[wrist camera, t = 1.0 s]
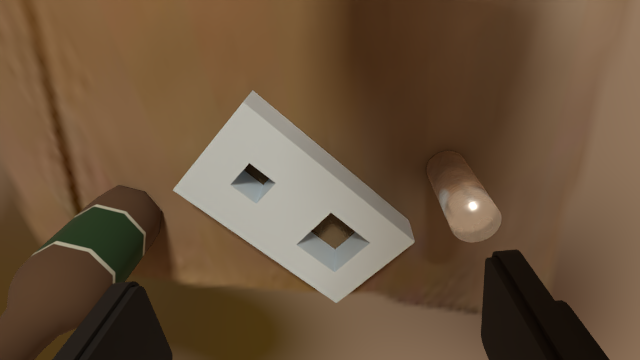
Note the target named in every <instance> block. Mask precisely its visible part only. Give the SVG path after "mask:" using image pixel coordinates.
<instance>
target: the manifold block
mask: <svg viewBox="0 0 640 360" xmlns="http://www.w3.org/2000/svg"><path fill="white" fill-rule="evenodd" d="M249 163H250V164H251V165H253V166H254V167H255V168H257V169H258V170H259V171H260V172H262V173H263V174H264V175H266V176H267V177H268V178H269V179H268V180H267V181H266V183H265V184H264V185H263V184H262V183H260V182H259V181H258V180H256V179H255V178H254V177H252V176H251V175H250V174H248V173H247V172H246V171H244V169H245V167H246V166H247V165H248V164H249ZM173 191H175V192H176V193H178V194H179V195H181V196H182V197H184V198H185V199H186V200H188V201H189V202H191V203H192V204H194V205H195V206H197V207H198V208H200V209H201V210H202V211H204V212H205V213H207V214H208V215H210V216H211V217H213V218H214V219H215V220H217V221H218V222H220V223H221V224H223V225H224V226H226V227H227V228H228V229H230V230H231V231H233V232H234V233H236V234H237V235H239V236H240V237H241V238H243V239H244V240H246V241H247V242H249V243H250V244H252V245H253V246H254V247H256V248H257V249H259V250H260V251H262V252H263V253H265V254H266V255H267V256H269V257H270V258H272V259H273V260H275V261H276V262H278V263H279V264H280V265H282V266H283V267H285V268H286V269H288V270H289V271H291V272H292V273H293V274H295V275H296V276H298V277H299V278H301V279H302V280H304V281H305V282H306V283H308V284H309V285H311V286H312V287H314V288H315V289H317V290H318V291H319V292H321V293H322V294H324V295H325V296H327V297H328V298H330V299H331V300H333V301H334V302H335V303H338V302H339V301H340V300H341V299H343V298H344V297H345V296H346V295H348V294H349V293H350V292H352V291H353V290H354V289H355V288H357V287H358V286H359V285H361V284H362V283H363V282H364V281H366V280H367V279H368V278H370V277H371V276H372V275H373V274H375V273H376V272H377V271H378V270H380V269H381V268H382V267H384V266H385V265H386V264H387V263H389V262H390V261H391V260H393V259H394V258H395V257H396V256H398V255H399V254H400V253H402V252H403V251H404V250H405V249H407V248H408V247H409V246H411V245H412V244H413V243H414V242H415V240H414V237H413V233H412V230H411V226H410V222H409V220H408V219H407V218H406V217H404V216H403V215H402V214H401V213H400V212H398V211H397V210H396V209H395V208H393V207H392V206H391V205H390V204H389V203H387V202H386V201H385V200H384V199H383V198H381V197H380V196H379V195H378V194H377V193H375V192H374V191H373V190H372V189H371V188H369V187H368V186H367V185H366V184H365V183H363V182H362V181H361V180H360V179H359V178H357V177H356V176H355V175H354V174H353V173H351V172H350V171H349V170H348V169H347V168H345V167H344V166H343V165H342V164H341V163H339V162H338V161H337V160H336V159H335V158H333V157H332V156H331V155H330V154H329V153H327V152H326V151H325V150H324V149H323V148H321V147H320V146H319V145H318V144H317V143H315V142H314V141H313V140H312V139H311V138H309V137H308V136H307V135H306V134H305V133H303V132H302V131H301V130H300V129H299V128H297V127H296V126H295V125H294V124H293V123H291V122H290V121H289V120H288V119H287V118H285V117H284V116H283V115H282V114H280V113H279V112H278V111H277V110H276V109H274V108H273V107H272V106H271V105H270V104H268V103H267V102H266V101H265V100H264V99H262V98H261V97H260V96H259V95H258V94H256V93H255V92H254V91H253V90H252V92H251V93H250V94H249V95H248V97H247V98H246V99H245V100H244V102H243V103H242V104H241V105H240V107H239V108H238V109H237V110H236V112H235V113H234V114H233V115H232V117H231V118H230V119H229V120H228V122H227V123H226V124H225V125H224V127H223V128H222V129H221V130H220V132H219V133H218V134H217V135H216V137H215V138H214V139H213V140H212V142H211V143H210V144H209V145H208V147H207V148H206V149H205V150H204V152H203V153H202V154H201V155H200V157H199V158H198V159H197V160H196V162H195V163H194V164H193V165H192V167H191V168H190V169H189V170H188V172H187V173H186V174H185V175H184V177H183V178H182V179H181V180H180V182H179V183H178V184H177V185H176V187H175V188H174V189H173ZM330 213H332V214H333V215H335V216H336V217H337V218H339V219H340V220H341V221H343V222H344V223H345V224H346V225H348V226H349V227H350V228H352V229H353V230H354V231H355V233H354V234H353V235H351V236H350V237H349V238H348V239H347V240H346V241H345V242H343V243H342V244H341V245H340V246H339V247H338V248H336V249H334V248H332V247H331V246H330V245H328V244H327V243H326V242H324V241H323V240H322V239H320V238H319V237H318V236H316V235H315V234H313V233H312V232H311V231H312V230H313V229H314V228H315V227H316V226H317V225H318V224H319V223H320V222H321V221H322V220H323V219H325V218H326V217H327V216H328V215H329V214H330Z"/></svg>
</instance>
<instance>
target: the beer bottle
mask: <svg viewBox="0 0 640 360" xmlns="http://www.w3.org/2000/svg"><path fill="white" fill-rule="evenodd" d="M160 219H161V209H160V208H159V207H158V206H157V205H156V204H155V203H154V201H153V200H152V199H151V198H150V197H149V196H148V195H147V193H146V192H145V191H140V190H136V189H132V188H128V187H124V186H116V187H115V188H113V189H111V190H109V191H108V192H106V193H104V194H103V195H101V196H99V197H98V198H96V199H95V200H94V201H93V202H91V203H90V204H89V205H88V206H87V207H85V208H84V209H83V210H82V211H81V212H80V213H79V214H78V215H76V216H75V217H74V218H73V219H72V220H71V221H70V222H69V223H68V224H66V225H65V226H64V227H63V228H62V229H61V230H60V231H59V232H57V233H56V234H55V235H54V236H53V237H52V238H51V239H50V240H49V241H47V242H46V243H45V244H44V245H43V246H42V247H41V248H40V249H39V250H37V251H36V252H35V253H34V254H33V255H32V256H31V257H30V258H29V259H28V260H27V261H26V262H25V263H24V264H23V265H22V266H21V267H20V268H19V269H18V270H17V272H16V274H15V276H14V278H13V280H12V282H11V285H10V287H9V293H8V302H7V309H6V310H5V312H4V313H3V314H2V316H1V317H0V360H34V359H35V358H36V357H37V356H38V355H39V354H40V353H41V352H42V350H43V349H44V348H45V347H47V346H48V345H49V344H50V343H51V342H52V341H53V340H54V339H55V338H56V337H57V336H59V335H61V334H64V333H66V332H68V331H71V330H73V329H75V328H77V327H78V326H79V325H80V324H81V322H82V321H83V320H84V319H85V317H86V316H87V315H88V313H89V312H90V311H91V310H92V308H93V307H94V306H95V305H96V303H97V302H98V301H99V299H100V298H101V297H102V296H103V294H104V293H105V292H106V291H107V289H108V288H109V287H110V286H111V285H112V284H114V283H121V282H125V281H126V279H127V278H128V277H129V275H130V274H131V272H132V271H133V270H134V268H135V267H136V265H137V264H138V263H139V261H140V260H141V258H142V257H143V256H144V254H145V253H146V251H147V250H148V249H149V247H150V246H151V244H152V243H153V242H154V240H155V238H156V237H157V235H158V233H159V232H160Z"/></svg>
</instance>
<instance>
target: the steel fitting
mask: <svg viewBox="0 0 640 360" xmlns="http://www.w3.org/2000/svg"><path fill="white" fill-rule="evenodd" d="M426 172H427V176H428V178H429V180H430V183H431V185H432V187H433V189H434V192H435V194H436V196H437V198H438V201H439V203H440V205H441V208H442V210H443V212H444V214H445V217H446V219H447V221H448V223H449V226H450V228H451V230H452V232H453V234H454V235H455V236H456V237H457V238H458V239H460V240H462V241H465V242H480V241H483V240H486V239H488V238H489V237H491V236H492V235H494V234H495V233H496V232H497V230H498V229H499V227H500V225H501V221H502V216H501V213H500V211H499V209H498V208H497V206H496V205H495V203H494V202H493V201H492V199H491V198H490V196H489V195H488V193H487V192H486V190H485V189H484V187H483V186H482V184H481V183H480V182H479V180H478V179H477V177H476V176H475V174H474V173H473V171H472V170H471V168H470V167H469V165H468V164H467V162H466V161H465V160H464V158H463V157H462V156H461V155H460V154H459V153H457V152H455V151H442V152H439V153H437V154H436V155H434V156H433V157H432V158H431V159H430V160H429V162H428V164H427V168H426Z"/></svg>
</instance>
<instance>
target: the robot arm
mask: <svg viewBox="0 0 640 360" xmlns="http://www.w3.org/2000/svg"><path fill="white" fill-rule="evenodd" d="M481 338H482V343H483V346H484V349H485V351H486V354H487V356H488V358H489V360H609V358H608V357H607V356H606V354H605V353H604V352H603V350H602V349H601V348H600V346H599V345H598V344H597V342H596V341H595V340H594V338H593V337H592V336H591V335H590V333H589V332H588V330H587V329H586V328H585V326H584V325H583V323H582V322H581V321H580V319H579V318H578V317H577V315H576V314H575V313H574V311H573V310H572V309H571V308H570V306H569V305H568V304H567V303H566V302H563V301H562V300H561V301H555V300H554V299H553V297H552V296H551V295H550V293H549V292H548V290H547V289H546V288H545V286H544V285H543V283H542V282H541V281H540V279H539V278H538V276H537V275H536V273H535V272H534V271H533V269H532V268H531V266H530V265H529V264H528V262H527V261H526V259H525V258H524V256H523V255H522V254H521V252H520V251H519V250H506V251H495V252H493V254H492V257H491V258H486V261H485V275H484V292H483V308H482V325H481ZM52 360H172V352H171V349H170V347H169V344H168V342H167V340H166V337H165V335H164V333H163V331H162V328H161V326H160V324H159V321H158V319H157V317H156V314H155V312H154V310H153V308H152V305H151V303H150V301H149V298H148V296H147V293H146V291H145V289H144V288H143V287H142V286H139V284H138V283H136V282H121V283H114V284H112V285H111V286H110V287H109V288H108V289H107V291H106V292H105V293H104V294H103V296H102V297H101V298H100V299H99V301H98V302H97V303H96V305H95V306H94V307H93V308H92V310H91V311H90V312H89V313H88V315H87V316H86V317H85V319H84V320H83V321H82V322H81V324H80V325H79V326H78V328H77V329H76V330H75V331H74V333H73V334H72V335H71V336H70V338H69V339H68V340H67V342H66V343H65V344H64V345H63V347H62V348H61V349H60V351H59V352H58V353H57V354H56V356H55V357H54V358H53V359H52Z"/></svg>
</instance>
